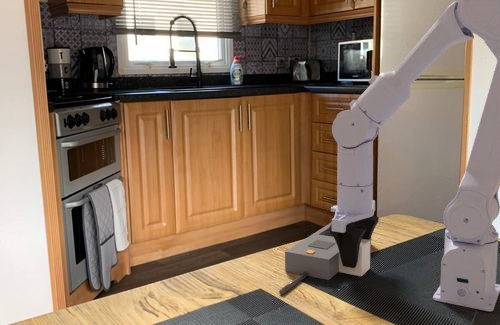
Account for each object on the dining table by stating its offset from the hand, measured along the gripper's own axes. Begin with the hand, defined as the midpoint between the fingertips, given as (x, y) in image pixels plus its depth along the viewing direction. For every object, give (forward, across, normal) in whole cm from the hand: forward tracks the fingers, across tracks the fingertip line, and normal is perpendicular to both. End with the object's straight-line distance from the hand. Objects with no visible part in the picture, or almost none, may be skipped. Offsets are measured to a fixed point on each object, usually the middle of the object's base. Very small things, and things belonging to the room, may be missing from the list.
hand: (354, 262), depth 86 cm
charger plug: (+1, 0, 0) cm, 1 cm away
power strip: (+1, 0, -6) cm, 6 cm away
